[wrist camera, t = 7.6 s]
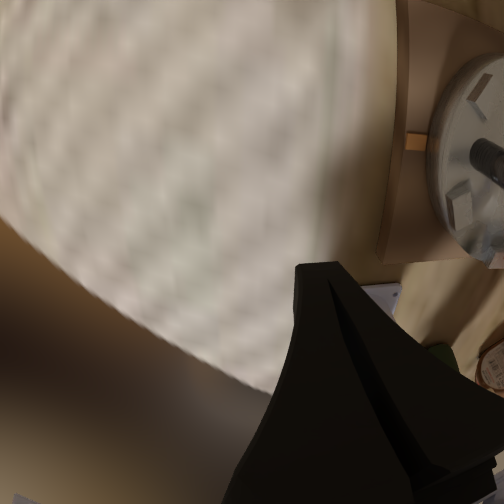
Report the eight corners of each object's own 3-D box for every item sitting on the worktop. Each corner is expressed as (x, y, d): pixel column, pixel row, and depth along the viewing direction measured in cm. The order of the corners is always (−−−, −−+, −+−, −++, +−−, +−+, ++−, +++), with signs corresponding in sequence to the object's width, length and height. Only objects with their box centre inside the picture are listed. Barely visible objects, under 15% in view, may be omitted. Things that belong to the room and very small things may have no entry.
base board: (521, 242, 22) (531, 252, 20) (375, 252, 22) (383, 266, 20) (557, 70, 12) (569, 74, 10) (395, -1, 12) (408, -5, 10)
